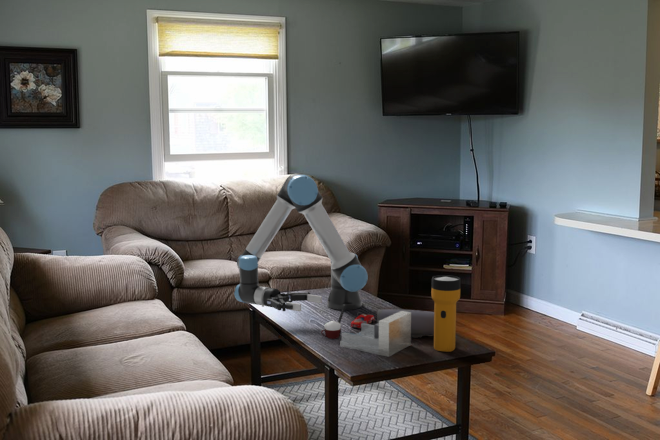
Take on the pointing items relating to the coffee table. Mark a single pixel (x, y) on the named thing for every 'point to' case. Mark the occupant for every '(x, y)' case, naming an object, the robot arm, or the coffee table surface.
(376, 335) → the tall grey box
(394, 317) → the labeled panel enclosure
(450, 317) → the flashlight
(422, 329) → the bluetooth speaker
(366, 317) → the race car
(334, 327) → the cocoa
